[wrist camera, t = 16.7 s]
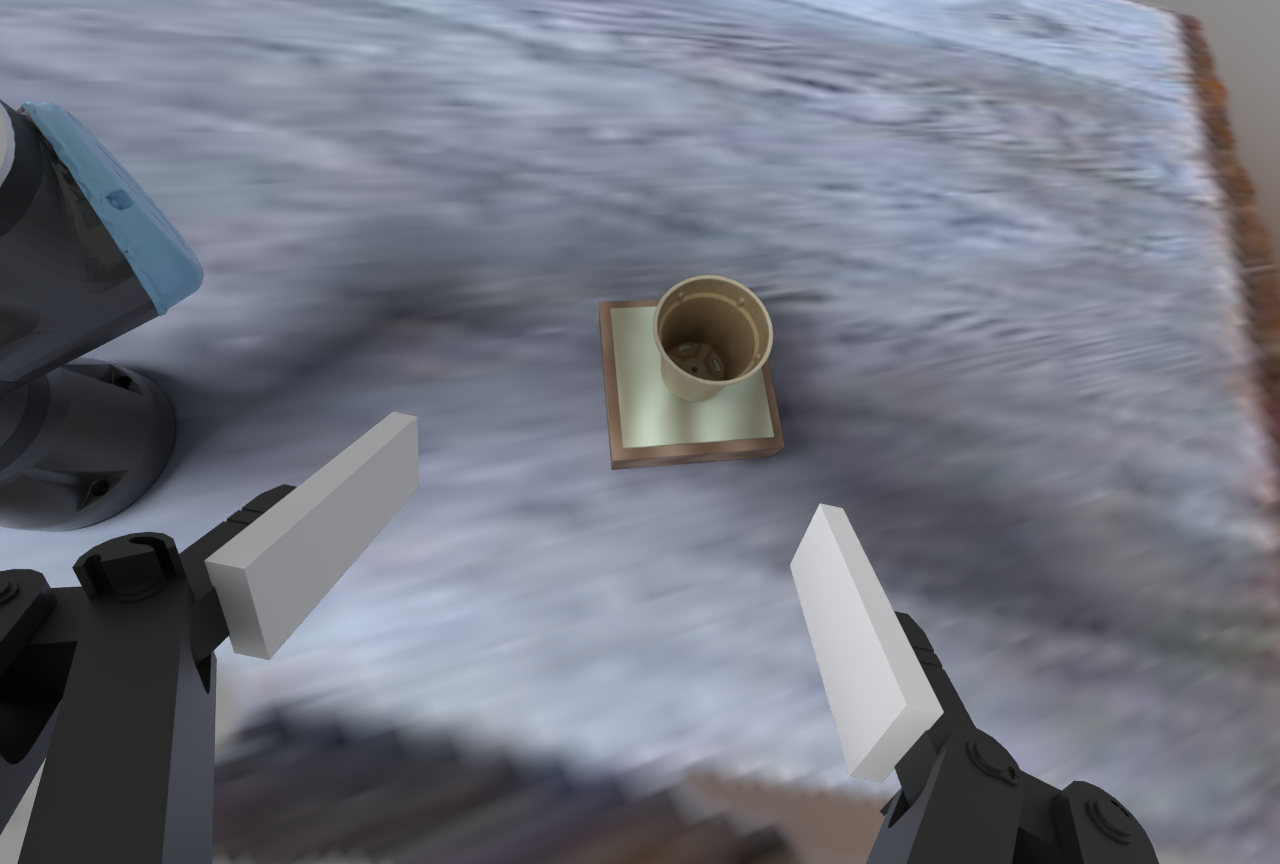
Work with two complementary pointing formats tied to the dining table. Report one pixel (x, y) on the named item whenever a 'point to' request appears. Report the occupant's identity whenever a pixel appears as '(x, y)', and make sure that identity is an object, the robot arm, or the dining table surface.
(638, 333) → the brown flat square box
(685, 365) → the flower pot
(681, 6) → the dining table surface
